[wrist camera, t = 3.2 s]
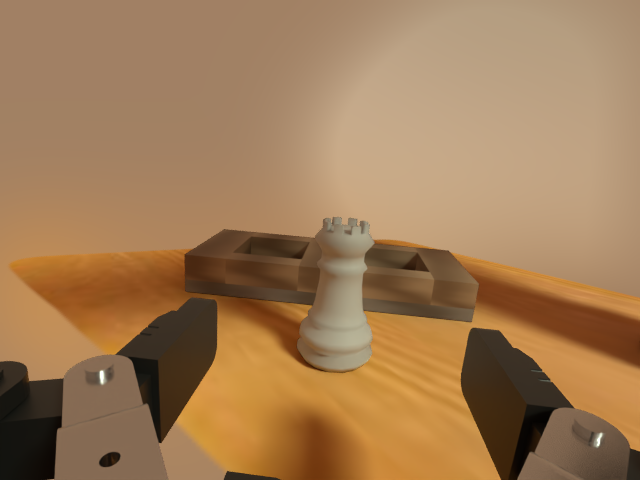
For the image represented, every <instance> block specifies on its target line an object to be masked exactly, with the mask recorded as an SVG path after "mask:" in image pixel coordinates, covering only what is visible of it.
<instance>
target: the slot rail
mask: <svg viewBox="0 0 640 480" xmlns="http://www.w3.org/2000/svg"><path fill="white" fill-rule="evenodd" d="M321 257H322V249H321V247H320V246H319V244H318V242H317V241H316V239H315V238H309V237H299V236H289V235H278V234H267V233H256V232H245V231H236V230H226V229H224V230H222V231H221V232H219V233H218V234H216V235H215V236H213V237H211V238H210V239H208V240H207V241H205V242H204V243H202V244H200V245H199V246H197V247H196V248H194V249H193V250H191V251H189V252H188V253H186V254H185V291H188V292H197V293H206V294H216V295H225V296H235V297H244V298H253V299H263V300H272V301H281V302H291V303H300V304H309V305H313V304H314V301H315V297H316V293H317V288H318V284H319V280H320V268H319V267H318V265H317V262H318V261H319V260H320V259H321ZM364 263H365V264H366V266H367V268H368V269H367V270H366V271H365V272H364V273H363V281H362V304H363V310H366V311H375V312H384V313H394V314H403V315H412V316H422V317H431V318H440V319H450V320H459V321H468V322H472V318H473V313H474V308H475V303H476V298H477V293H478V288H479V283H478V282H477V281H476V280H475V279H474V278H473V277H472V276H471V275H470V274H469V273H468V271H467V270H466V269H465V268H464V267H463V266H462V265H461V264H460V263H459V262H458V261H457V259H456V258H455V257H454V256H453V255H452V254H451V253H450V252H449V251H446V250H436V249H425V248H415V247H404V246H394V245H383V244H373V245H372V247H371V248H370V249H369V250H368V251H367V252H366V253H365V257H364Z"/></svg>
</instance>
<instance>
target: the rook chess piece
mask: <svg viewBox="0 0 640 480" xmlns="http://www.w3.org/2000/svg"><path fill="white" fill-rule="evenodd" d="M341 222H342V218H341V217H333V220H332V223H331V219H330V218H325V219H324V220H323V228H322V229H321V230H320V231H319V232H318V233H317V235H316V236H315V239H316V241H317V242H318V244H319V246H320V247H321V249H322V257H321V259H320V260H319V261H318V262H317V265H318V267H319V268H320V280H319V284H318V288H317V293H316V297H315V301H314V304H313V306H312V308H311V309H310V310H309V311H308V316H307V317H306V318H305V319H304V320H303V321H302V322H301V325H300V330H299V335H300V336H301V337H300V338H299V339H298V342H297V349H298V350H299V352H300V353H301V355H302V357H303V358H304V359H305V361H306V362H307V363H309V364H310V365H312V366H313V367H315V368H317V369H320V370H324V371H327V372H337V373H343V372H349V371H354V370H356V369H357V368H359V367H361V366H362V365H364V364H365V363H366V362H367V361H368V360H369V358H370V356H371V354H372V350H371V346H370V343H371V341H372V340H373V337H372V332H371V328H370V326H369V324H368V323H367V317H366V315H365V314H364V312H363V304H362V281H363V273H364V272H365V271H366V270H367V269H368V268H367V266H366V264H365V263H364V257H365V253H366V252H367V251H368V250H369V249H370V248H371V247H372V245H373V244H374V243H375V242H374V241H373V239H372V237H371V236H370V234H369V226H370V225H369V224H368V222H366V221H360V226H357V219H353V218H349V219H348V225H341Z"/></svg>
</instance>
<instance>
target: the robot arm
mask: <svg viewBox="0 0 640 480" xmlns="http://www.w3.org/2000/svg"><path fill="white" fill-rule="evenodd" d="M216 349H217V303H216V301H215V300H211V299H202V298H190V299H189V300H188V301H187V302H186V303H185V304H184V305H182V306H181V307H180V308H179V309H178V310H177V311H170V312H168V313H166V314H164V315H162V316H159V317H157V318H156V319H155V320H154V321H153V322H152V323H151V324H149V325H148V328H147V327H146V328H145V329H144V330H143V331H142V332H140V335H137V336H136V337H135V338H134V339H132V340H131V341H130V342H129V343H128V344H127V345H126V346H125V347H123V348H122V349H121V350H120V351H119V352H118V353H117V354H115V355H102V356H97V357H93V358H90V359H87V360H84V361H82V362H80V363H78V364H76V365H75V366H73V367H72V368H71V369H69V370H68V372H67V373H66V374H65V376H64V378H63V379H53V380H41V381H29V378H28V371H27V367H26V366H25V365H24V364H22V363H19V362H13V361H4V362H0V480H48V479H55V480H168V477H167V473H166V469H165V465H164V461H163V457H162V454H161V450H160V447H159V443H162V441H163V440H164V438H165V437H166V435H167V433H168V432H169V430H170V429H171V427H172V426H173V424H174V423H175V421H176V420H177V418H178V416H179V415H180V413H181V412H182V410H183V409H184V407H185V406H186V404H187V402H188V401H189V399H190V398H191V396H192V395H193V393H194V391H195V390H196V388H197V387H198V385H199V384H200V382H201V381H202V379H203V377H204V376H205V374H206V373H207V371H208V370H209V368H210V367H211V365H212V363H213V361H214V358H215V354H216ZM461 387H462V392H463V395H464V397H465V400H466V402H467V404H468V406H469V409H470V411H471V413H472V415H473V418H474V420H475V422H476V424H477V427H478V429H479V431H480V433H481V436H482V438H483V440H484V442H485V444H486V447H487V449H488V451H489V453H490V456H491V458H492V460H493V462H494V465H495V467H496V469H497V471H498V474H499V476H500V478H501V480H640V452H639V451H636V450H633V449H630V445H629V443H628V441H627V439H626V438H625V436H624V435H623V434H622V433H621V432H620V431H619V430H618V429H617V428H615V427H614V426H613V425H611V424H610V423H608V422H607V421H605V420H603V419H601V418H600V417H597V416H595V415H593V414H591V413H588V412H585V411H582V410H578V409H575V408H574V407H573V406H572V405H571V404H570V402H569V401H568V400H567V399H566V398H565V397H564V395H563V394H562V393H561V392H560V391H559V389H558V388H557V387H556V386H555V385H554V384H553V382H550V379H549V378H548V376H547V375H546V374H545V373H544V372H542V369H541V368H540V367H539V366H538V365H537V363H536V362H535V361H534V360H533V359H532V358H531V357H529V356H528V355H526V354H525V353H523V352H522V351H520V350H519V349H517V348H513V347H512V346H511V344H510V343H509V342H508V341H507V339H506V338H505V337H504V336H503V334H502V333H501V332H500V331H499V330H490V329H481V328H472V329H471V330H470V333H469V336H468V341H467V347H466V352H465V357H464V362H463V367H462V373H461ZM224 480H280V479H278V478H273V477H266V476H258V475H251V474H244V473H236V472H229V471H227V473H226V475H225V478H224Z"/></svg>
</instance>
